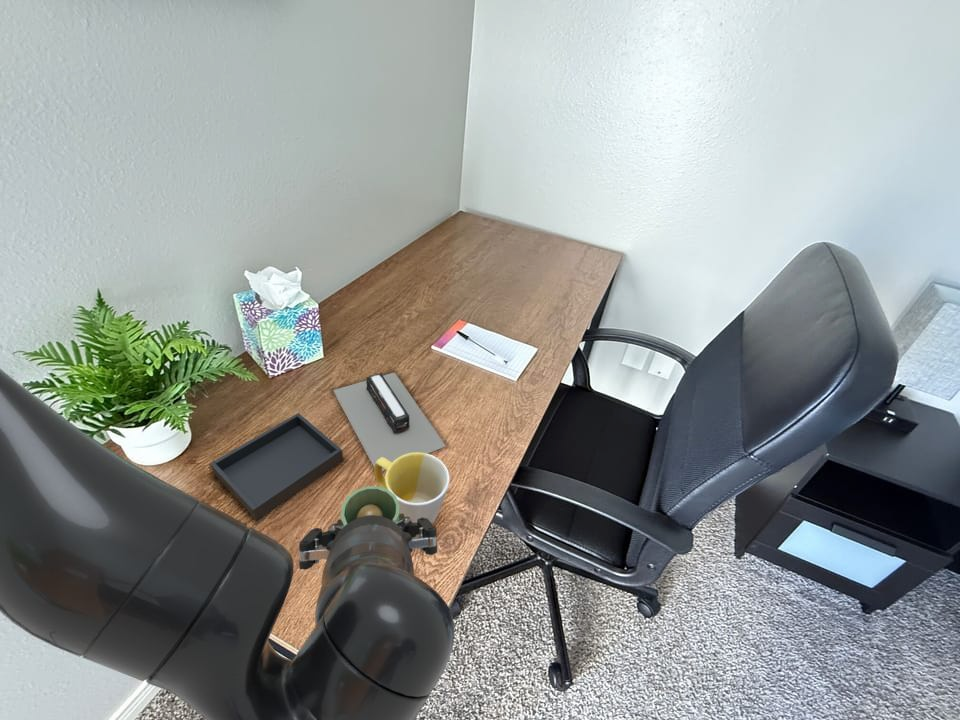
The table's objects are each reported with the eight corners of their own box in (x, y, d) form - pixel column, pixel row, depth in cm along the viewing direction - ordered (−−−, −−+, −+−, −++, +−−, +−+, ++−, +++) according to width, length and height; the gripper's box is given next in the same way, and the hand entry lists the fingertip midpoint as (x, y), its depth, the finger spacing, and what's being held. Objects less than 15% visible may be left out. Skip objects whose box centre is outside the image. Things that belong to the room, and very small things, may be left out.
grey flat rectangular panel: (394, 372, 108) (394, 358, 106) (445, 446, 93) (447, 431, 90) (333, 390, 101) (331, 375, 99) (377, 473, 86) (376, 458, 83)
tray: (256, 521, 76) (252, 510, 74) (213, 474, 82) (209, 463, 80) (343, 460, 87) (342, 449, 85) (300, 423, 93) (298, 412, 91)
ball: (367, 517, 53) (363, 497, 55) (354, 534, 54) (350, 513, 56) (389, 521, 54) (384, 501, 57) (376, 537, 55) (372, 517, 58)
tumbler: (369, 592, 55) (367, 547, 48) (335, 557, 57) (328, 510, 51) (408, 555, 59) (411, 509, 53) (375, 523, 62) (373, 476, 56)
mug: (457, 516, 81) (463, 479, 74) (412, 554, 74) (413, 517, 68) (407, 468, 87) (408, 430, 81) (361, 499, 81) (358, 460, 75)
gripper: (448, 517, 43) (428, 488, 59) (281, 534, 39) (308, 498, 56) (452, 603, 42) (430, 549, 58) (281, 627, 39) (309, 563, 55)
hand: (371, 525), depth 57 cm, fingers closed on tumbler, 6 cm apart
